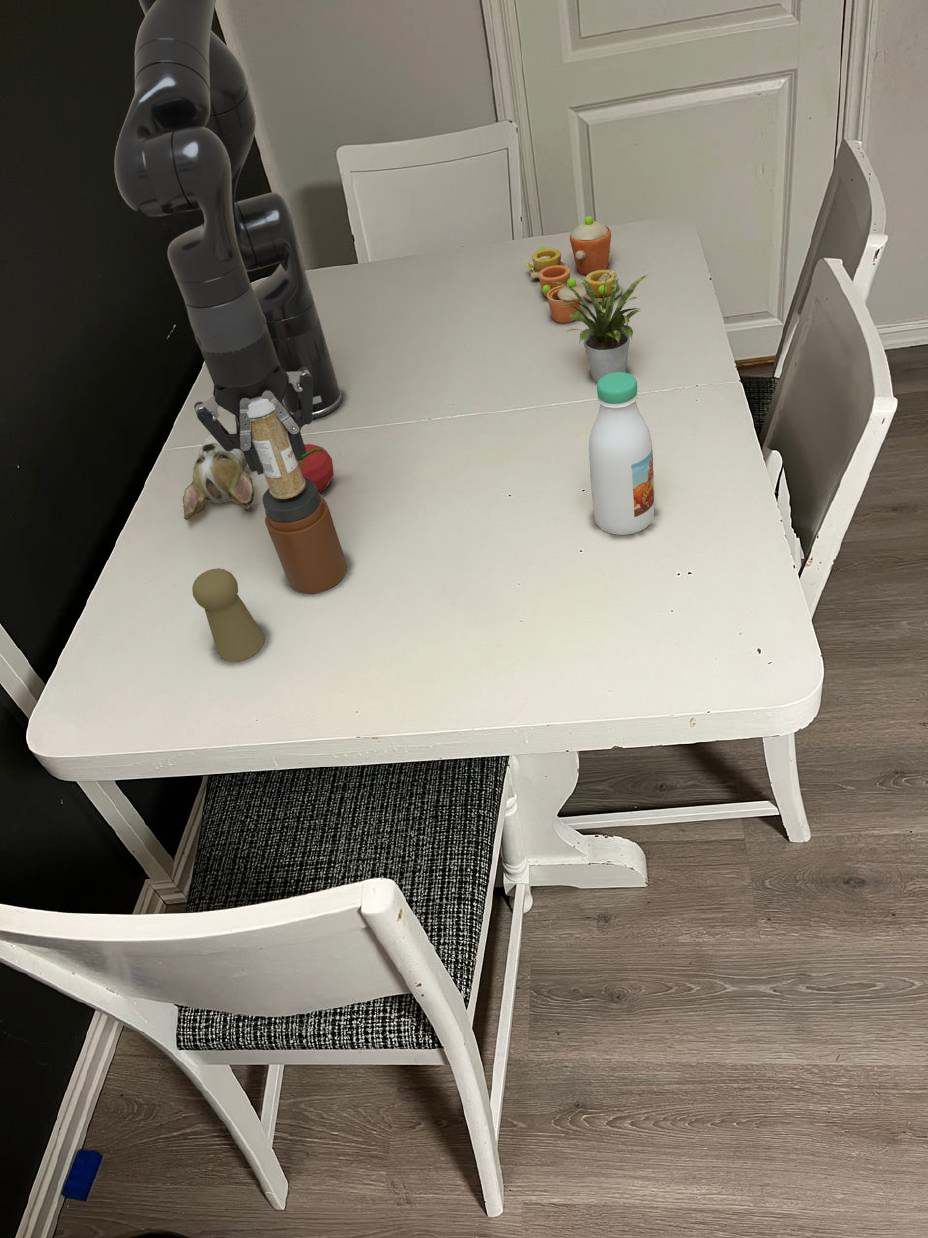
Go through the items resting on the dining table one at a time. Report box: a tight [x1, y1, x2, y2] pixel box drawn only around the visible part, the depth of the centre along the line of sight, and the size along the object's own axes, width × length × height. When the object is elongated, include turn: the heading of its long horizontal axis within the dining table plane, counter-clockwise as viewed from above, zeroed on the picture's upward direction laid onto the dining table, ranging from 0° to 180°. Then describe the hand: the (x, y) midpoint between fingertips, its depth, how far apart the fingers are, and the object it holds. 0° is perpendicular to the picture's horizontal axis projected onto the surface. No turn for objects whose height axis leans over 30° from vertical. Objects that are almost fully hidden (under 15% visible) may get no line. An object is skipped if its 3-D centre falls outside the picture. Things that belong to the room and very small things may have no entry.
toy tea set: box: [526, 215, 622, 324], centre depth 166 cm, size 26×16×10 cm, turn 5°
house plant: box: [553, 272, 648, 384], centre depth 142 cm, size 14×14×16 cm
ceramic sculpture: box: [182, 433, 255, 521], centre depth 138 cm, size 11×9×15 cm
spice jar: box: [245, 393, 306, 499], centre depth 110 cm, size 5×5×13 cm
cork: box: [191, 567, 266, 663], centre depth 113 cm, size 6×6×11 cm
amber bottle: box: [261, 477, 348, 595], centre depth 120 cm, size 8×8×13 cm
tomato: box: [298, 443, 335, 494], centre depth 136 cm, size 8×8×8 cm
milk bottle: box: [588, 372, 655, 536], centre depth 115 cm, size 8×8×20 cm
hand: (278, 463), depth 112 cm, fingers closed on spice jar, 4 cm apart
